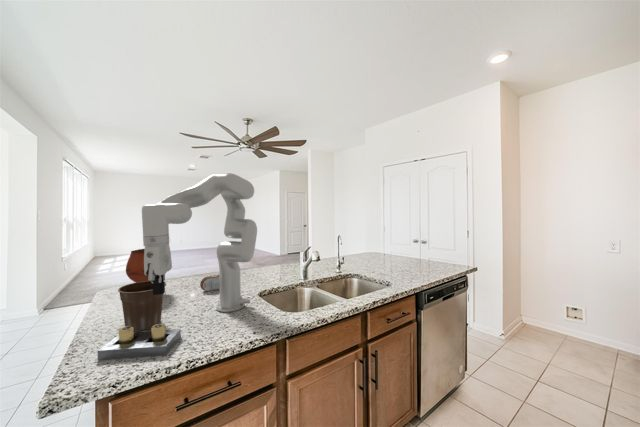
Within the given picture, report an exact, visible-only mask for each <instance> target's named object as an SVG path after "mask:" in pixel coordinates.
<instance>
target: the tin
mask: <svg viewBox="0 0 640 427" xmlns="http://www.w3.org/2000/svg"><path fill="white" fill-rule="evenodd" d="M199 285H200V289H201V290H203V291H204V292H212V291H213V292H214V291H217V290H219V291H220V285H219V274H215V275H209V276H205V277H203V278H202V279H201V280H200V284H199Z"/></svg>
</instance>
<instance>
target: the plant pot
mask: <svg viewBox="0 0 640 427" xmlns="http://www.w3.org/2000/svg"><path fill="white" fill-rule="evenodd" d="M166 286H167V282H166V281H165V287H166ZM117 291H118V293H119V299H120V301H121V305H122V307H121V308H122V313H123V314H122V315H123V320H124V327H125V326H133V330H134V332H144V331H148V330H150V329H151V327H152V326H154V325H157V324H161V323H162V313H163V312H162V310H163V301H164V300H163V299H164V294H165V293H163V294H159V295H153V286H152V282H151V281H143V282H137V283H136V282H132V283H128V284H126V285H122V286H121V287H119V288H118V289H117Z"/></svg>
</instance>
